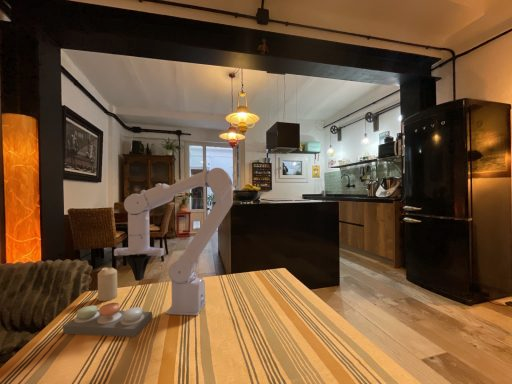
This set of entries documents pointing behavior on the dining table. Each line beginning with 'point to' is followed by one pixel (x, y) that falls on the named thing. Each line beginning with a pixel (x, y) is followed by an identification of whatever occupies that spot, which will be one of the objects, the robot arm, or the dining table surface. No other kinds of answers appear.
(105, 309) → the terracotta button
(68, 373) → the dining table surface
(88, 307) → the green button
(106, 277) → the candle
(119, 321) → the button board
